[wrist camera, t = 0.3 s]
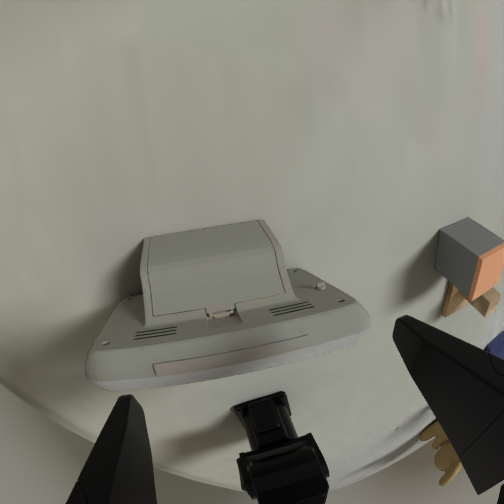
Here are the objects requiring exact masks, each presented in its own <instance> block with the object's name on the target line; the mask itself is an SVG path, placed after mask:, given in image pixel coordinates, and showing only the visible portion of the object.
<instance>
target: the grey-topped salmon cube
mask: <svg viewBox="0 0 504 504" xmlns="http://www.w3.org/2000/svg"><path fill="white" fill-rule="evenodd" d="M503 266H504V240H503V239H501V238H500V237H498V236H497V235H495V234H494V233H492V232H491V231H489V230H488V229H486V228H485V227H483V226H482V225H480V224H478V223H477V222H475V221H474V220H472V219H470V218H469V217H468V218H465V219H463V220H461V221H458V222H456V223H453V224H451V225H449V226H446V227H444V228H441V229H440V232H439V240H438V248H437V256H436V262H435V269H436V270H437V271H438V272H439V273H440V274H441V275H443V276H444V277H445V278H446V279H447V280H448V281H449V282H451V283H452V284H453V285H454V286H455V287H456V288H457V289H458V290H460V291H461V292H462V293H463V294H464V295H465V296H466V297H467V298H468V299H469V300H471V301H473V300H475V299H476V298H478V297H479V296H481V295H482V294H484V293H485V292H487V291H488V290H490V289H491V288H492V287H494V286H495V285H497V284H498V283H499V280H500V276H501V273H502V270H503Z"/></svg>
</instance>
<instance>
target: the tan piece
mask: <svg viewBox="0 0 504 504" xmlns="http://www.w3.org/2000/svg"><path fill="white" fill-rule="evenodd" d="M500 296H501V294H500V293H499V292H498V291H497V290H495V289H494V288H493V287H492V288H491V289H490V290H488V291H487V292H485V293H484V294H482V295H481V296H479V297H478V298H476V299H475V300H473V301H471V300H469V299H468V298H467V297H466V296H465V295H464V294H463V293H462V292H461V291H460V290H458V289H457V288H456V287H455V286H454V285H453V284H452V283H451V282H450V283H449V288H448V292H447V296H446V300H445V304H444V308H443V312H442V315H443V316H444V317H447V316H449V315H450V314H452V313H454V312H455V311H457V310H459V309H460V308H462V307H464V306H465V305H467V304H468V303H470V304H471V305H472V306H473V307H475V308H476V309H477V310H478V311H479V312H480V313H481V314H482V315H483V316H484V317H486V316H487V315H489V314H490V313H491V312H493V311H494V310H495V309H496V307H497V305H498V302H499V299H500Z"/></svg>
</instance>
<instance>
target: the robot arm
mask: <svg viewBox="0 0 504 504" xmlns="http://www.w3.org/2000/svg"><path fill="white" fill-rule="evenodd" d="M393 340H394V343H395V345H396V347H397V349H398V351H399V353H400V355H401V357H402V359H403V361H404V363H405V365H406V367H407V369H408V371H409V373H410V375H411V377H412V378H413V380H414V382H415V383H416V385H417V386H418V388H419V390H420V391H421V393H422V395H423V396H424V398H425V400H426V401H427V403H428V405H429V406H430V408H431V410H432V411H433V413H434V415H435V417H436V418H437V420H438V422H439V423H440V425H441V427H442V429H443V430H444V432H445V434H446V436H447V438H448V439H449V441H450V443H451V445H452V447H453V448H454V450H455V452H456V454H457V456H459V457H458V458H459V460H460V462H461V463H462V465H463V467H464V469H465V471H466V473H467V475H468V477H469V479H470V481H471V483H472V485H473V487H474V489H475V491H476V492H477V494H478V495H480V494H481V493H483V492H485V491H486V490H488V489H490V488H491V487H493V486H495V485H496V484H498V483H499V482H501V481H503V480H504V359H502V358H500V357H497V356H495V355H493V354H491V353H488V352H486V351H484V350H482V349H480V348H478V347H476V346H474V345H471V344H469V343H467V342H465V341H463V340H461V339H459V338H456V337H454V336H452V335H450V334H448V333H446V332H443V331H441V330H439V329H437V328H435V327H433V326H430V325H428V324H426V323H424V322H422V321H420V320H417V319H415V318H413V317H411V316H409V315H404V316H402V317H399V318H397V319H396V322H395V326H394V330H393ZM234 411H235V413H236V415H237V416H238V418H239V420H240V421H241V423H242V425H243V426H244V428H245V429H246V433H247V436H248V440H249V443H250V447H251V450H252V451H250V452H246V453H244V452H243V453H239V455H240V458H238V459H237V464H238V468H239V473H240V481H241V487H242V490H244V491H246V492H248V494H249V495H250V497H251V498H252V500H255V499H257V500H258V503H259V504H325V502H326V498H327V493H328V489H329V484H328V482H327V479H326V478H328V477H329V470H328V467H327V464H326V461H325V459H324V457H323V455H322V453H321V451H320V449H319V447H318V445H317V443H316V442H315V440H314V438H313V436H312V434H311V433H308V434H306V435H304V436H301V437H298V436H297V433H296V431H295V428H294V426H293V423H292V420H291V418H290V416H291V411H290V407H289V403H288V400H287V396H286V393H285V392H279V393H276V394H273V395H270V396H267V397H264V398H261V399H258V400H254V401H251V402H248V403H244V404H241V405H238V406H235V407H234ZM65 504H157V500H156V491H155V483H154V474H153V464H152V454H151V448H150V443H149V438H148V432H147V427H146V421H145V415H144V411H143V408H142V407H141V405H140V404H139V403H138V402H137V400H136V399H135V398H134V396H133V395H131V394H129V395H122V396H120V397H119V398H118V400H117V402H116V404H115V406H114V407H113V409H112V411H111V413H110V415H109V417H108V419H107V421H106V423H105V425H104V427H103V429H102V431H101V433H100V435H99V437H98V439H97V441H96V443H95V445H94V447H93V449H92V451H91V453H90V455H89V457H88V459H87V461H86V463H85V465H84V467H83V470H82V471H81V473H80V476H79V477H78V481H77V482H76V484H75V486H74V488H73V490H72V492H71V494H70V496H69V498H68V500H67V502H66V503H65ZM497 504H504V484H503V485H502V486H501V489H500V493H499V498H498V502H497Z"/></svg>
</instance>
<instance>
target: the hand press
mask: <svg viewBox="0 0 504 504" xmlns="http://www.w3.org/2000/svg"><path fill="white" fill-rule="evenodd" d="M484 351H486V352H488V353H491V354H493V355H495V356H497V357H500V358H502V359H504V331H502V332H501V333H500V334H499V335H498V336H497V337H495V338H494V339H493V340H492V341H491V342H490V343H489V344H488V345H487V346H486V349H485V350H484Z"/></svg>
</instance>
